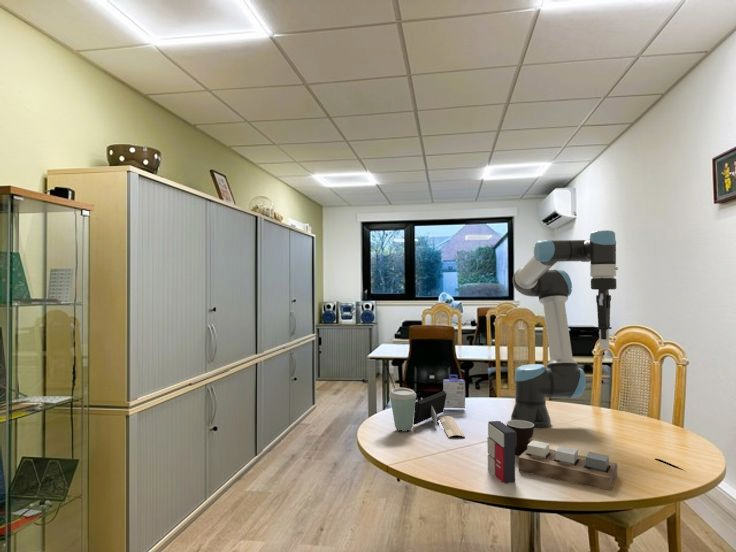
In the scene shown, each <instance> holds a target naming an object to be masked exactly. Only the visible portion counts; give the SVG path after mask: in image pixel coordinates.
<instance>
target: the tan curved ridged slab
mask: <svg viewBox="0 0 736 552" xmlns="http://www.w3.org/2000/svg"><path fill="white" fill-rule="evenodd" d="M438 420H440V422H441V424H442V426H443V428H444V430H445V431H444V433H446V436H447V435H448V436H447V438H448V437H449V438H448V439H451V438H452V437H453V436H459V437H461V436H463V437H465V438H466V436H465V434H464V433H463V431H462V430H461V428H460V427H459V425H458V423H457V422H456V420H455V419H454V417H453V416H449V415H443V416H440V417H438ZM450 437H451V438H450Z"/></svg>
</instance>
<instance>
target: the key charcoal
mask: <svg viewBox="0 0 736 552" xmlns="http://www.w3.org/2000/svg"><path fill="white" fill-rule="evenodd" d="M585 457H586V466H587V467H589V469H592V470H596V471H601V472H605V473H606V469H607V467H608V466H609V462H610V455H608V454H603V453H602V454H601V453H597V452H591V451H589V452H588V453H587V454H586V456H585Z"/></svg>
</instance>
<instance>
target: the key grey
mask: <svg viewBox="0 0 736 552" xmlns="http://www.w3.org/2000/svg"><path fill="white" fill-rule="evenodd" d="M555 450H556V451H555V460H559V462H560V463H565V464H569V465H574V466H575V464H574V463H575V462H576V460H577V459H578V455H579V449H577V448H573V447H567V446H563V445H559V446H558V447H557V448H556V449H555Z"/></svg>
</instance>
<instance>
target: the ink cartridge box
mask: <svg viewBox="0 0 736 552" xmlns="http://www.w3.org/2000/svg"><path fill="white" fill-rule="evenodd" d="M442 385H443V386H442V387H443V389H442V392H443V391H445V393H446V394H447V395H446V400H445V406H444V409H466V381H465V379H459V376H458V374H449V378H447V379H443V380H442Z"/></svg>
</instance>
